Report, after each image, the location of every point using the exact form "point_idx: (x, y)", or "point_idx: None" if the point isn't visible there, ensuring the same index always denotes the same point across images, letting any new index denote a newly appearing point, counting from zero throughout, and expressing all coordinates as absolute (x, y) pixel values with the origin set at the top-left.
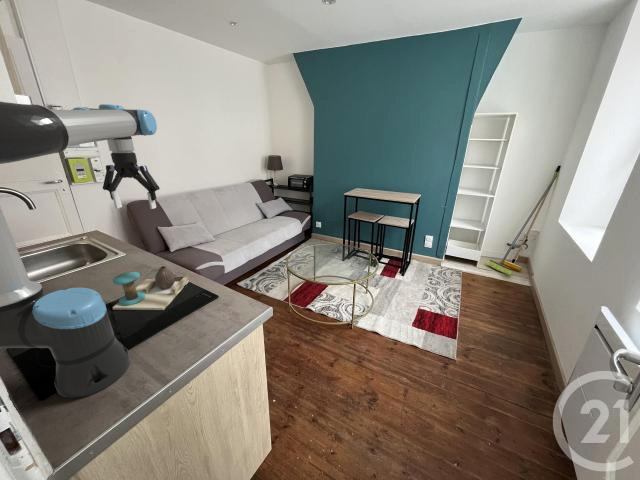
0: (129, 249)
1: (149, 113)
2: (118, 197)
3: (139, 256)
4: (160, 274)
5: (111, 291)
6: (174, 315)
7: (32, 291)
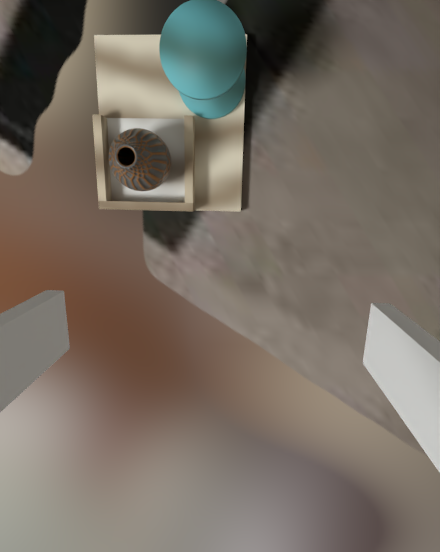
0: None
1: None
2: (411, 406)
3: (360, 384)
4: (130, 135)
5: (316, 146)
6: (51, 11)
7: None
